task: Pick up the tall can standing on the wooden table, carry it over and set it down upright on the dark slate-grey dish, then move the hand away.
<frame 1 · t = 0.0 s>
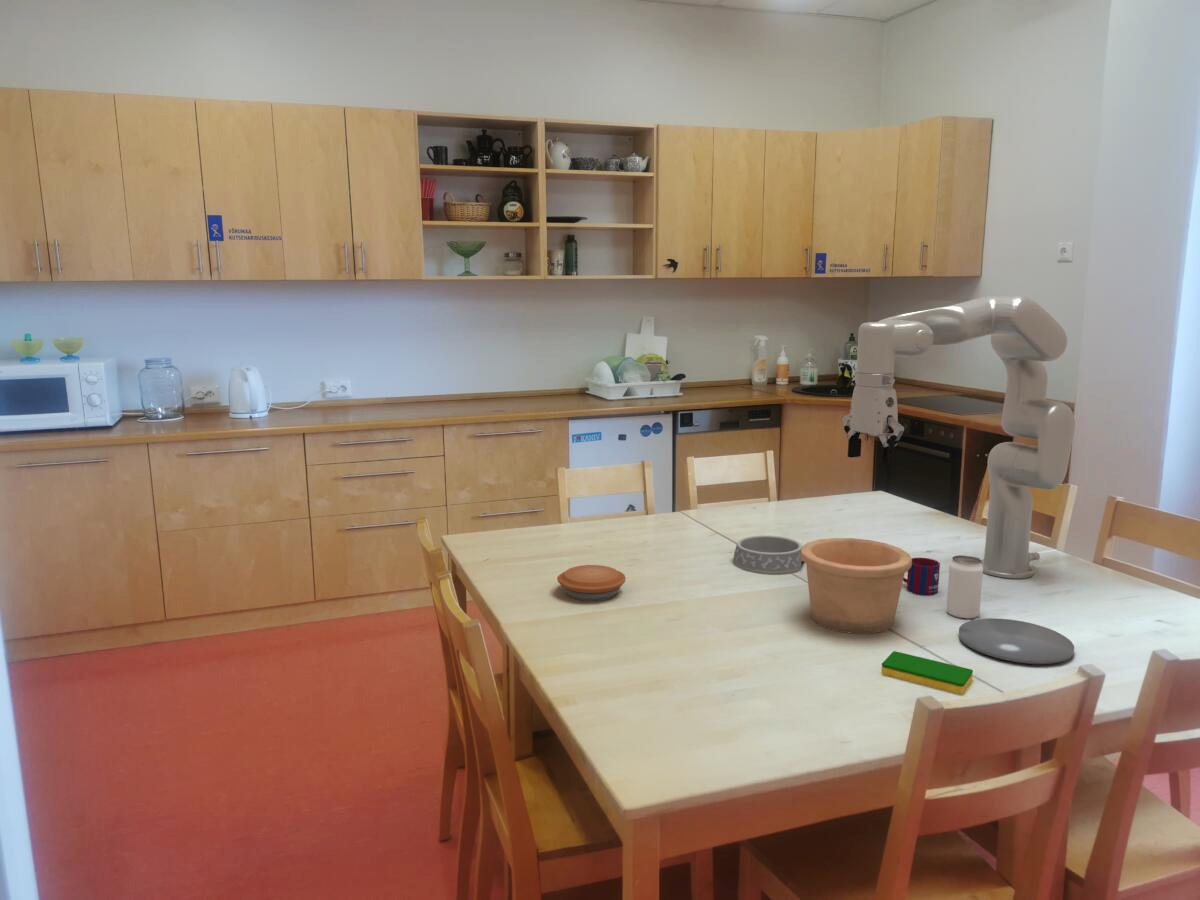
hand: (869, 460, 184), 31 cm above the table, tool pointing down, fingers open, 9 cm apart
pie: (591, 593, 194), on the table
dish sponge: (926, 680, 151), on the table
can: (962, 614, 181), on the table
mug: (915, 589, 196), on the table
dish: (1014, 644, 165), on the table
dog bowl: (768, 565, 215), on the table
pottery: (851, 619, 178), on the table
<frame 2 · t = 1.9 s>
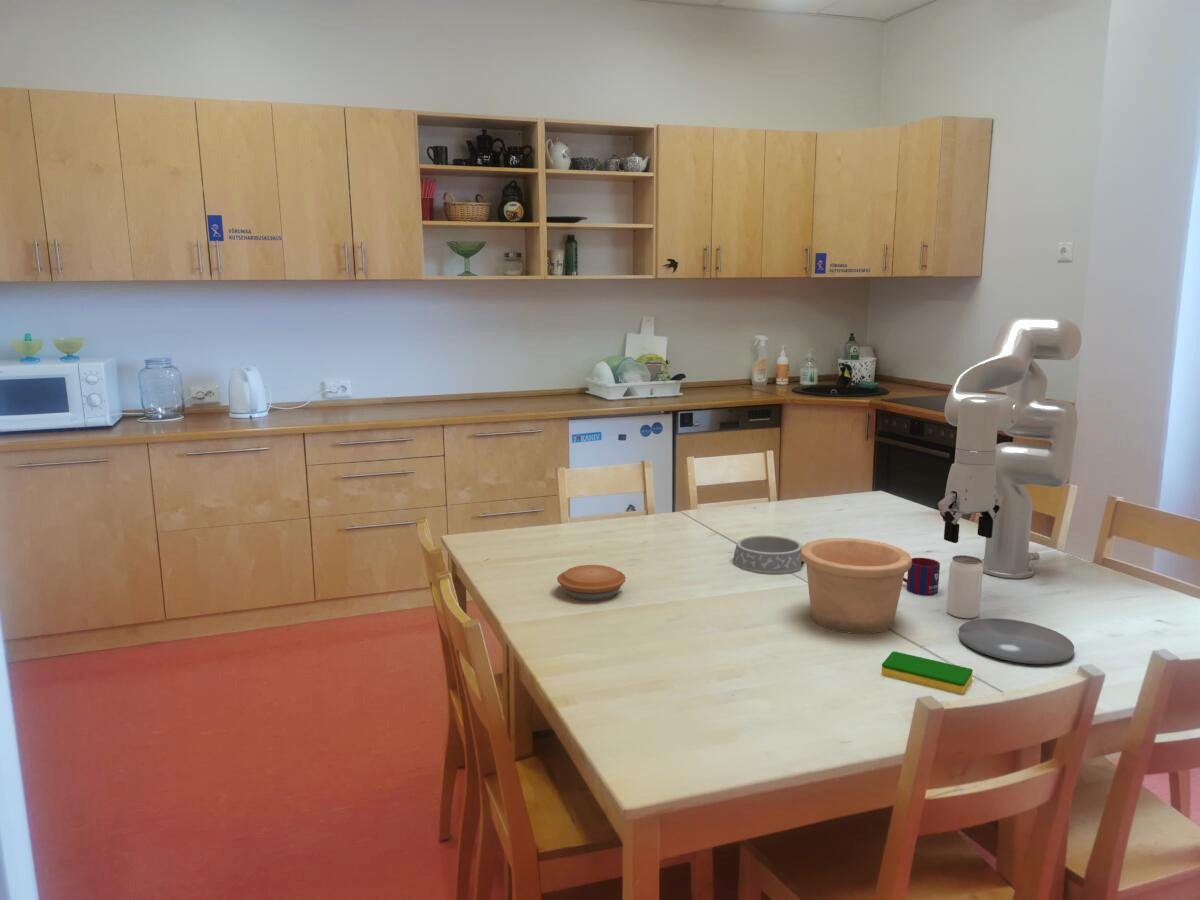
hand: (967, 538, 177), 16 cm above the table, tool pointing down, fingers open, 9 cm apart
nothing on the table moved.
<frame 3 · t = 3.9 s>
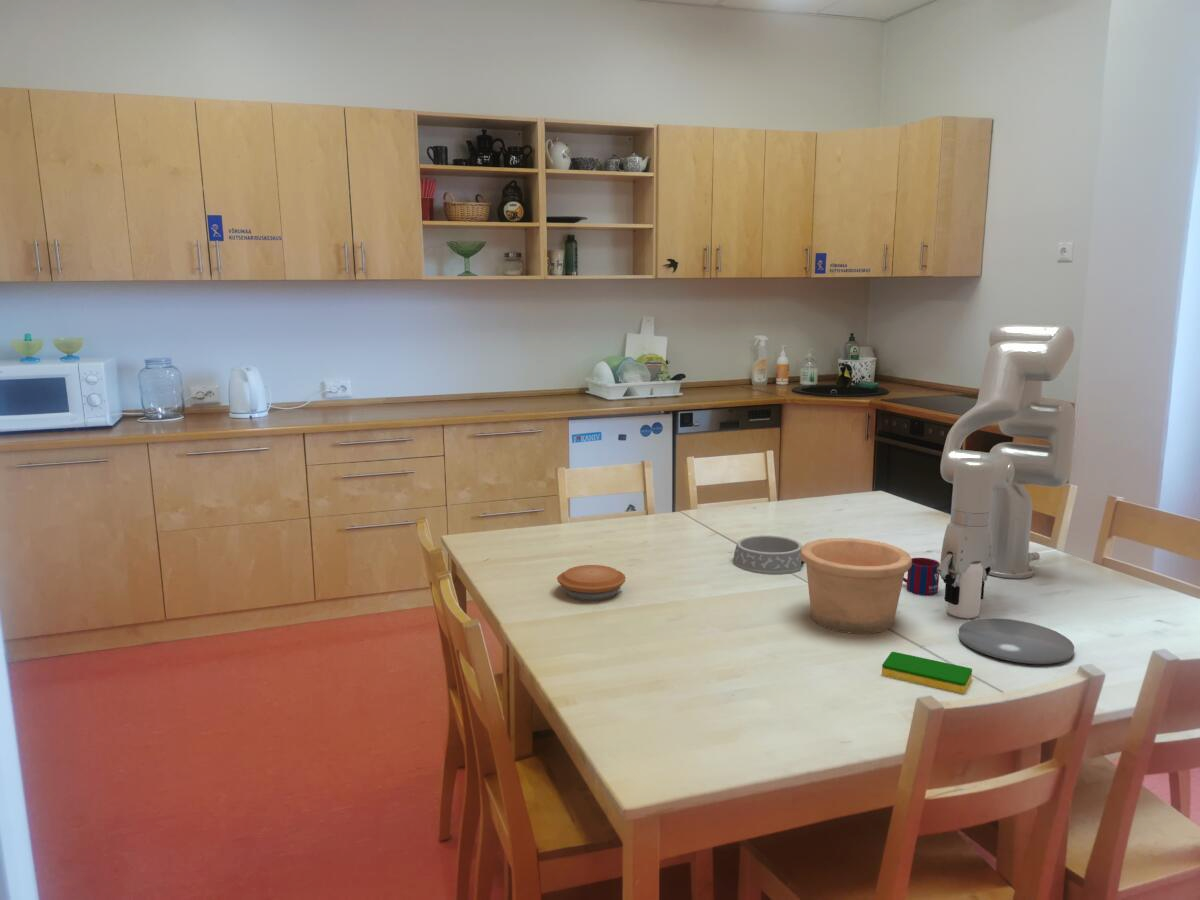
hand: (963, 599, 180), 3 cm above the table, tool pointing down, fingers closed on can, 6 cm apart
can: (962, 614, 181), on the table, touching gripper
everything else where it was.
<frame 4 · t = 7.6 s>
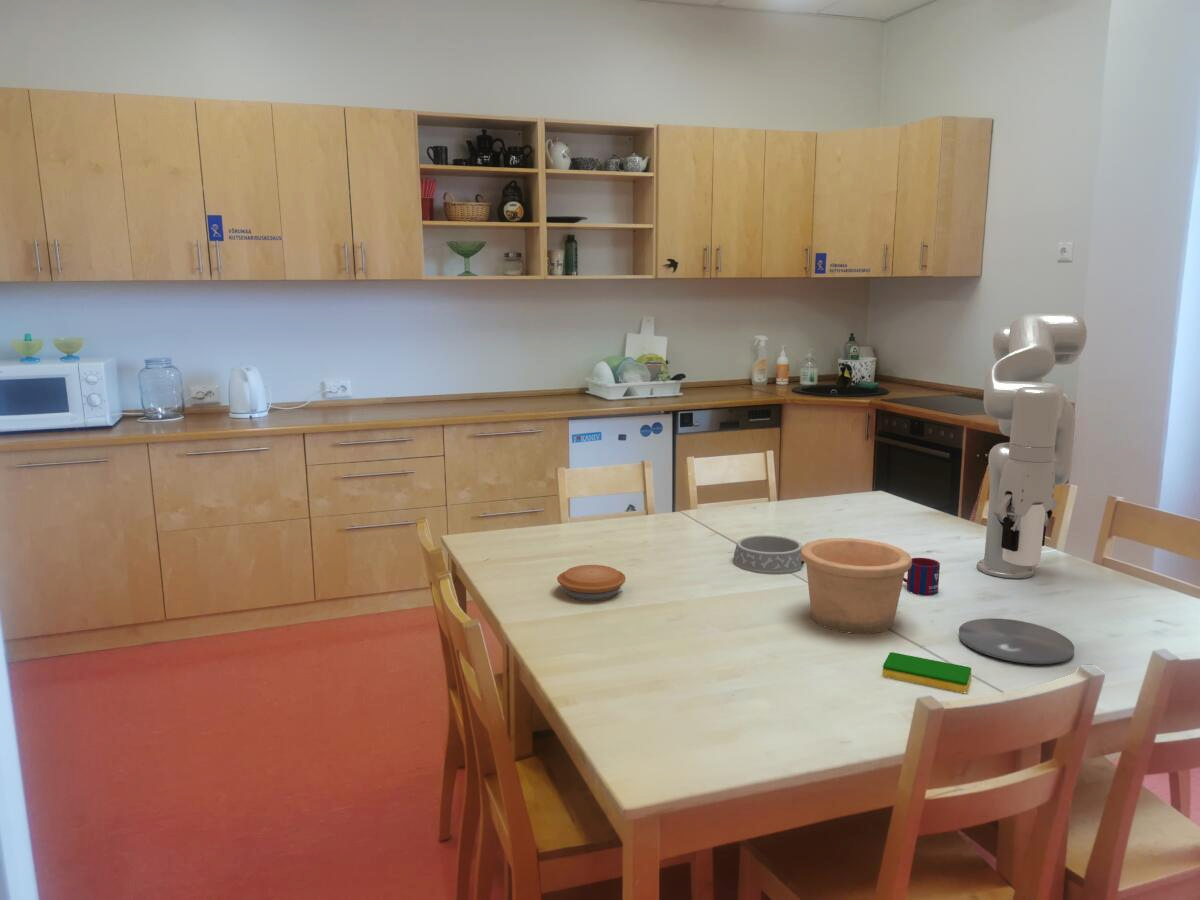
hand: (1022, 546, 162), 20 cm above the table, tool pointing down, fingers closed on can, 6 cm apart
can: (1020, 563, 162), point 16 cm above the table, touching gripper
everything else where it was.
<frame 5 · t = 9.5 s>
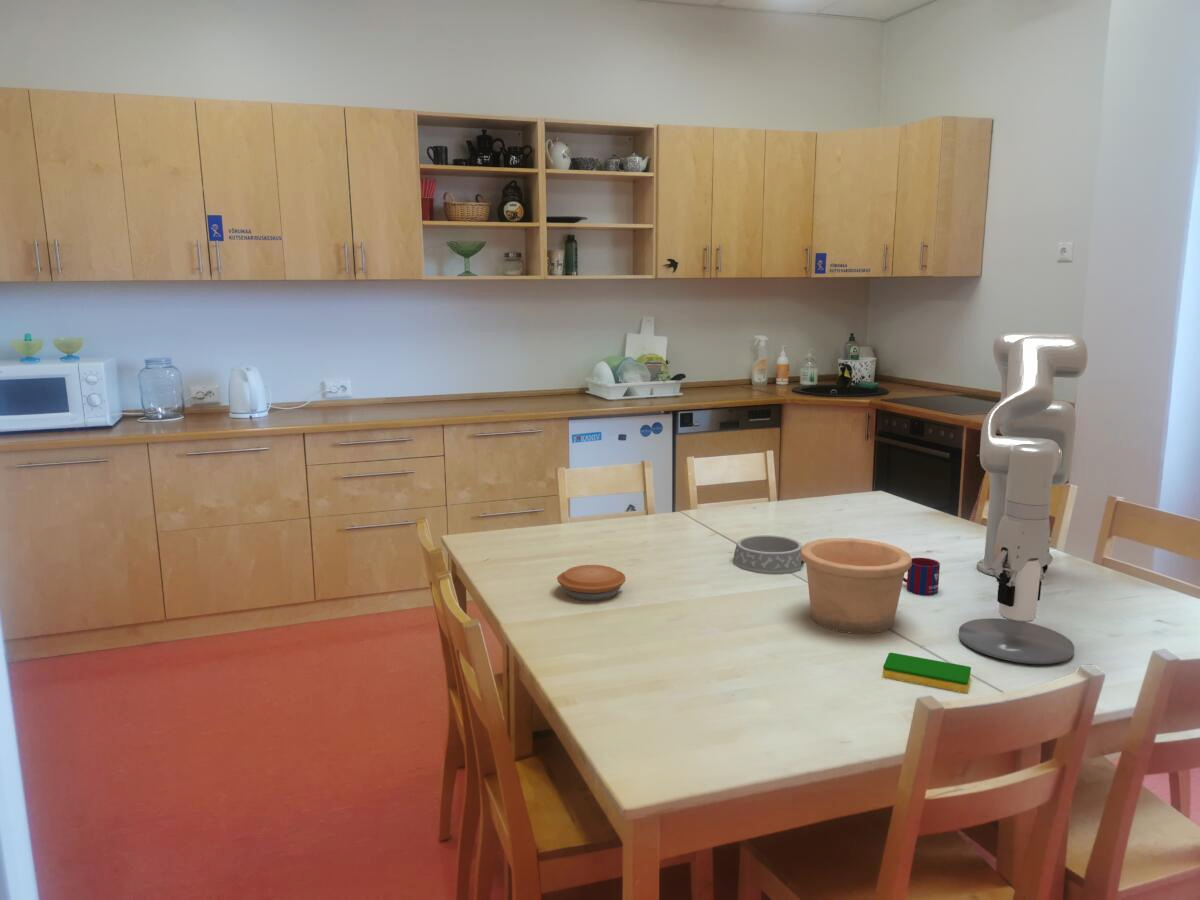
hand: (1018, 600, 163), 9 cm above the table, tool pointing down, fingers closed on can, 6 cm apart
can: (1016, 617, 164), point 6 cm above the table, touching gripper
everything else where it was.
when the fingers open (6 cm above the table, at t = 11.1 s): can drops 1 cm, resting on dish.
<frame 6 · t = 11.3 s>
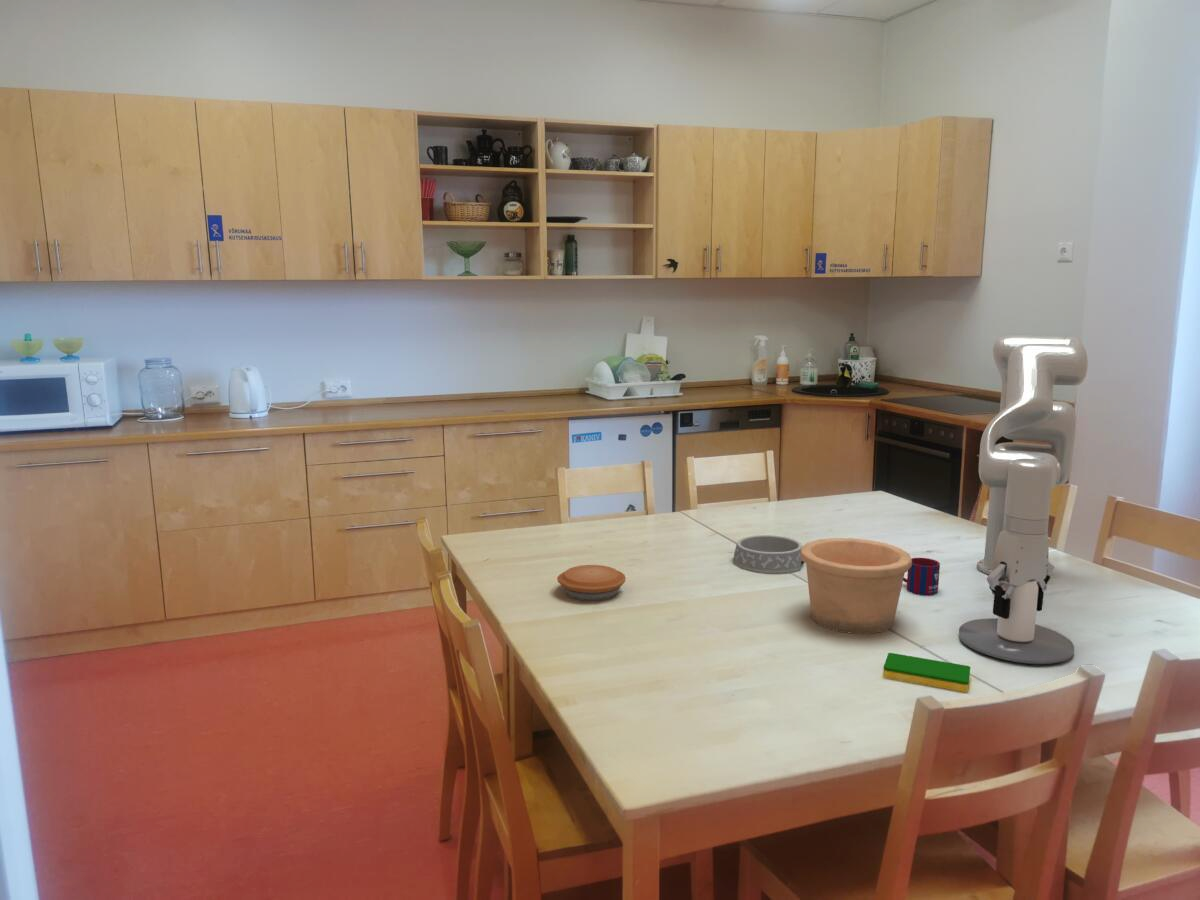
hand: (1017, 612, 164), 7 cm above the table, tool pointing down, fingers open, 8 cm apart
can: (1015, 638, 165), point 1 cm above the table, touching dish
everything else where it was.
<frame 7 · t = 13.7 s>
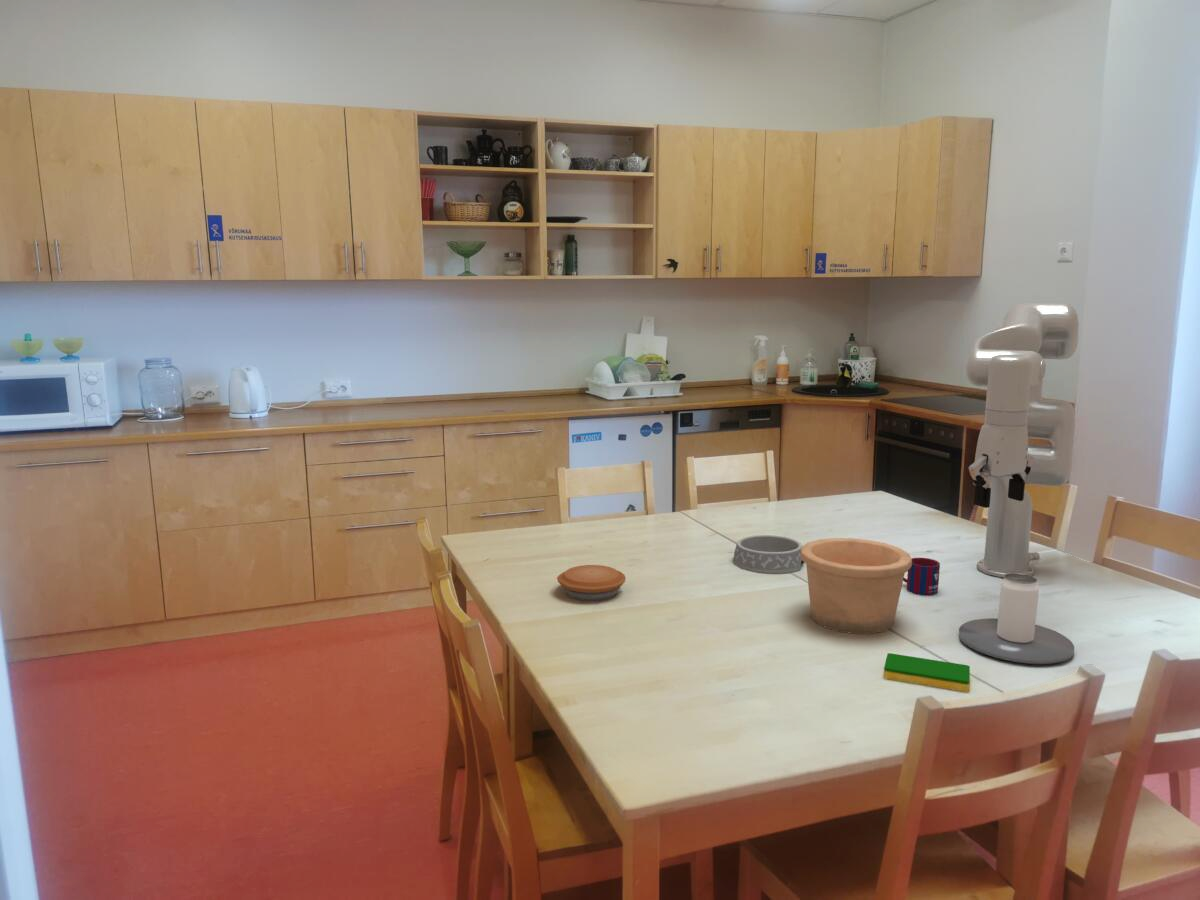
hand: (998, 502, 171), 25 cm above the table, tool pointing down, fingers open, 9 cm apart
nothing on the table moved.
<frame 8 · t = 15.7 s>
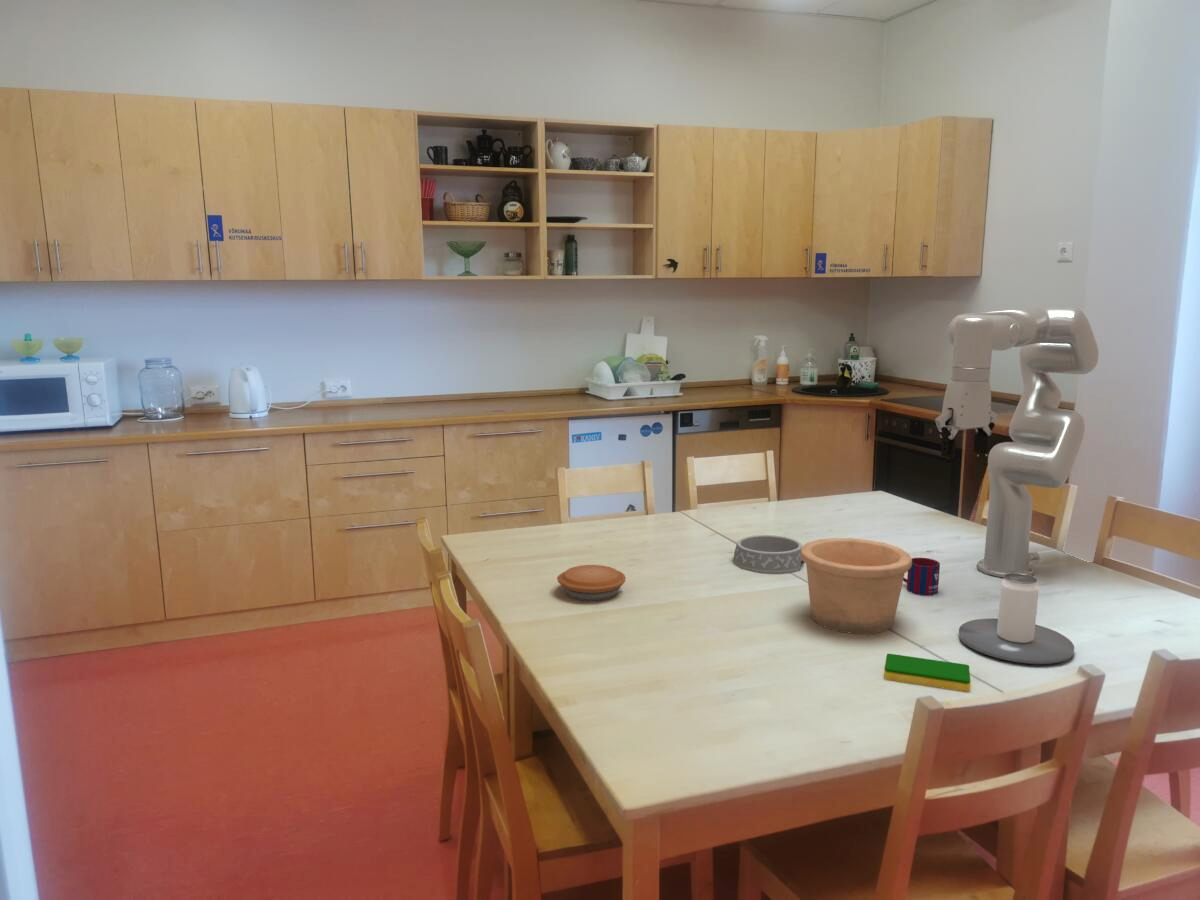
hand: (964, 454, 185), 32 cm above the table, tool pointing down, fingers open, 9 cm apart
nothing on the table moved.
at the end: can inside the target area on the dish (0.1 cm from its centre), point 1.2 cm above the dish's base; can tilted 0°; the gripper is holding nothing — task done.
